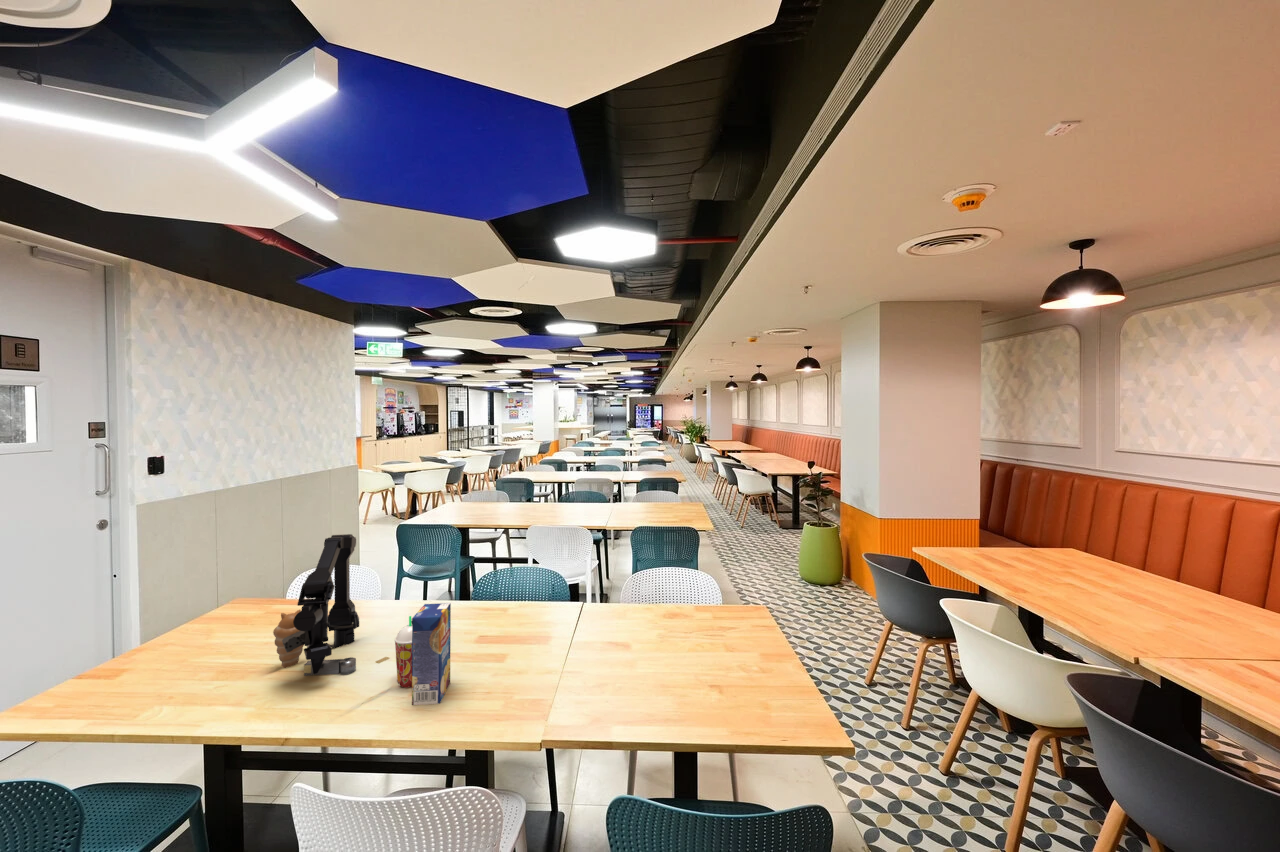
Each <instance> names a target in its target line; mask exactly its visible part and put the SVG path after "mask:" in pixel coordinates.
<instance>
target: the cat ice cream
mask: <svg viewBox="0 0 1280 852" xmlns="http://www.w3.org/2000/svg"><path fill="white" fill-rule="evenodd" d="M301 610H302V609H298V610H296V611H294V612H291V613H288V614H287V613H284V612H281V613H280V617H281V618H280V621H279V622H278V625H277V626H276V627H275V628H274V629H273V631H272V633H273V636H274V645H275V646H276V653H277V654H278V660H279V661H280V662H281V666H282V667H283V668H285V669H287V668H290V667H293V666H296V665H298V663H299V660H300V656H301V655H302V653H303V652H304V647H305V644H304V645H301V646H299V647H297V648H295V649H293V650H292V651H291V652H288V653H287V652H286V650H285V647H284V645H283V642H282V640H283V639H284V638H286V637H288V636H290V635H292V634H294V633H296V632H299V631H300V630H297V629H296V628H295V627H294V624H293V620H294V618H295V616H296V615H297V614H298V613H299V612H300V611H301Z"/></svg>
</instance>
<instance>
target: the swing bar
mask: <svg viewBox="0 0 1280 852" xmlns="http://www.w3.org/2000/svg"><path fill="white" fill-rule="evenodd" d="M356 671H357V658H356V657H352V656H351V657H346V658H339V659H324V661H323V663H322V665H321V667H320V669H319V671H318V673H316V674H313V669H312V664H311V660H307V661H306V662H305V663H304V664H303V676H306V677H307V676H308V677H309V676H322V675H342V676H347V675H351V674H354V673H355V672H356Z"/></svg>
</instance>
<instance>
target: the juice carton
mask: <svg viewBox="0 0 1280 852" xmlns="http://www.w3.org/2000/svg"><path fill="white" fill-rule="evenodd" d="M451 607H452V605H451V602H446V603H445V602H444V603H424V604H423V606H422V607H421V608H420V609H419V610H418V611H417V612H416V613H415V614H414V615H413V617H411V619H412V623H411V625H412V687H411V706H419V705H420V706H421V705H439V704H441V702H442V700H443V698H444V696H445V695H446V692H447V691H448V688H449V687H450V685H451V629H452V626H451V624H452V623H451V621H452V620H451V617H452V616H451V612H452V611H451V610H452V609H451Z"/></svg>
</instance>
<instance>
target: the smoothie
mask: <svg viewBox="0 0 1280 852" xmlns="http://www.w3.org/2000/svg"><path fill="white" fill-rule="evenodd" d="M411 619H412V615H408V625H406V626H404V627H402V628H401V629H400V630H399V631H398V632H397V635H396V637H395V638H394V643H395V644H394V645H395V660H396V665H395V666H396V678H397V683H398V684H399V687H401V688H406V689H407V688H412V623H411Z"/></svg>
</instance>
